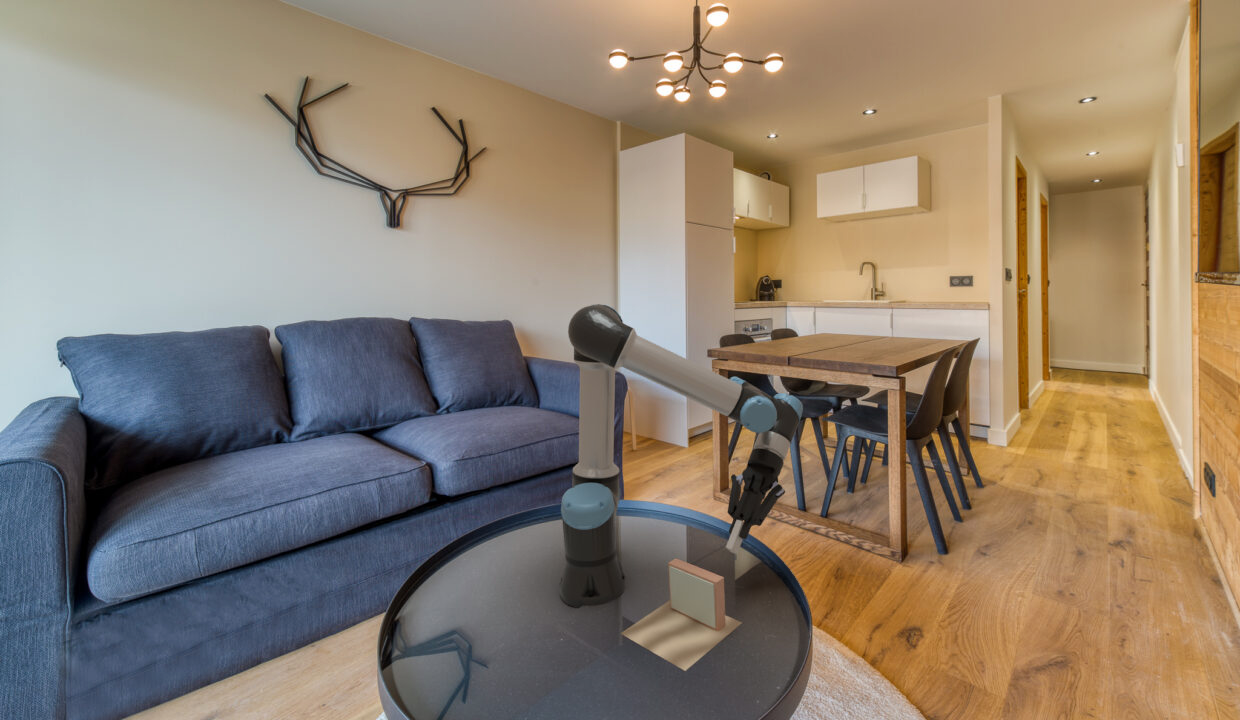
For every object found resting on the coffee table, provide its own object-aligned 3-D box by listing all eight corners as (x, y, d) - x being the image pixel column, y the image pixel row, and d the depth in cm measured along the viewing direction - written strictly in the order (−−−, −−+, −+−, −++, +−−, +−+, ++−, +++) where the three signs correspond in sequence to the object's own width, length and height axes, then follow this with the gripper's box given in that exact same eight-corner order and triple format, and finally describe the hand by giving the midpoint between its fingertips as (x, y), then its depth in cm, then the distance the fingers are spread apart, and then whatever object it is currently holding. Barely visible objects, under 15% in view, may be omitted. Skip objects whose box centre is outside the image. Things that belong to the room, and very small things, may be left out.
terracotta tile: (669, 608, 112) (667, 563, 110) (678, 602, 114) (675, 558, 112) (717, 632, 103) (715, 583, 102) (725, 625, 105) (723, 577, 104)
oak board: (620, 637, 105) (620, 633, 104) (679, 597, 117) (678, 594, 117) (685, 675, 93) (685, 670, 93) (742, 626, 106) (742, 622, 106)
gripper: (800, 468, 122) (765, 567, 112) (750, 458, 131) (713, 549, 121) (788, 451, 117) (751, 552, 107) (737, 442, 126) (698, 535, 117)
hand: (731, 550), depth 114 cm, fingers closed
